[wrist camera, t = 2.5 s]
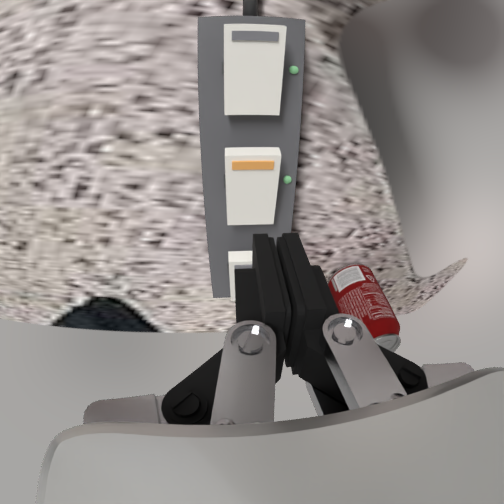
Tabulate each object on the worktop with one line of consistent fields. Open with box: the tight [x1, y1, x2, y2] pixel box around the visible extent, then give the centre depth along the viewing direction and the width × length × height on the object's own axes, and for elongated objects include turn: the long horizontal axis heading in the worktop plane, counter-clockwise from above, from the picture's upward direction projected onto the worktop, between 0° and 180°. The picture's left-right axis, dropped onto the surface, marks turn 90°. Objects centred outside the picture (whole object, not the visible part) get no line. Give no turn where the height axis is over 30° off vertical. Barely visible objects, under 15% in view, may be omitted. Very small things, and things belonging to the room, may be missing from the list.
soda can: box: [328, 264, 401, 352], centre depth 32 cm, size 7×7×12 cm
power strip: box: [198, 0, 305, 298], centre depth 23 cm, size 34×8×5 cm, turn 179°
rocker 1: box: [228, 251, 252, 301], centre depth 28 cm, size 7×4×1 cm, turn 179°
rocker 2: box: [224, 24, 287, 115], centre depth 16 cm, size 7×4×1 cm, turn 179°
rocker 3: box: [225, 147, 281, 225], centre depth 22 cm, size 7×4×1 cm, turn 179°
